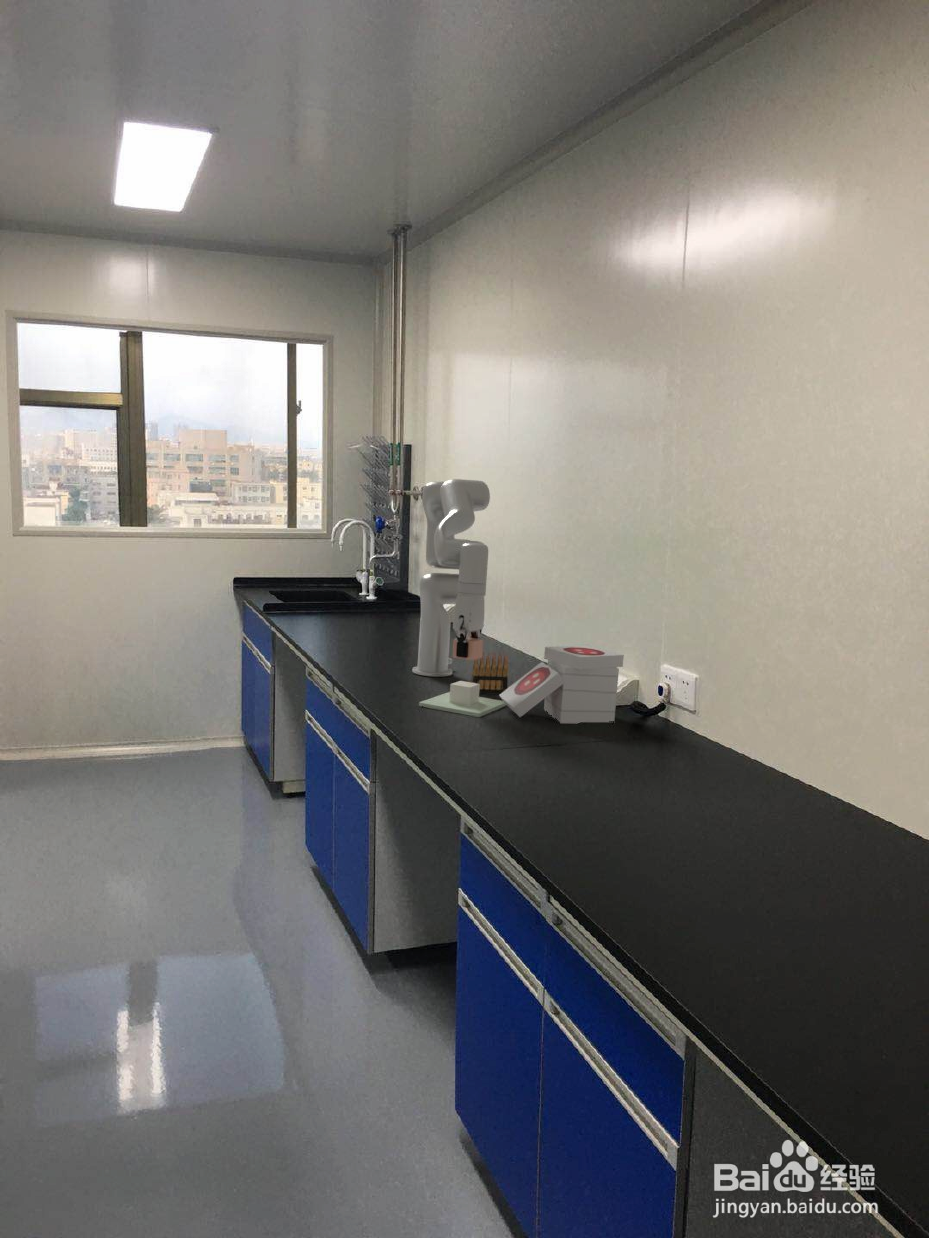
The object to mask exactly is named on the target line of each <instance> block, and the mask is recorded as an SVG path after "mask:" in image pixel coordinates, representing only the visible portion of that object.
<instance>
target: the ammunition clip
mask: <svg viewBox="0 0 929 1238" xmlns="http://www.w3.org/2000/svg"><path fill="white" fill-rule="evenodd" d="M497 658H498V659H497ZM479 659H480V660H479ZM479 659H475V660H473V665H472V666H473V667H472V675H471V680H470V682H471V683H477V684H480V689H479V694H488V693H502V692H504V691H505V690H506V689H507V688H508V684H509V683H508V676H509V675H508V674H509V665H508V664H509V657H508V653H507V652H506V653H505V654H504V657H503V655H502V653H501V652H500V653H499V655H498V657H497V654H496V652H493V655H492V659H491V654H490V652H488V653H487V655H486V660H485V653H484V652H483V653H482V658H479ZM485 661H486V662H485Z"/></svg>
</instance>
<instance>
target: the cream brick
mask: <svg viewBox="0 0 929 1238" xmlns="http://www.w3.org/2000/svg"><path fill="white" fill-rule="evenodd" d="M479 689H480V684H477V683H471V681H464V680H459V681H458V680H457V681H456V682H453V683H450V687H449V690H450V691H449V692H450V699H449V702H451V703H457V704H463V705H468V706H470V705H472V704H475V703H477V702H479V697H480V693H479Z"/></svg>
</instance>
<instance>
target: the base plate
mask: <svg viewBox="0 0 929 1238" xmlns="http://www.w3.org/2000/svg"><path fill="white" fill-rule="evenodd" d="M449 699H450V691H448V692H445V693H442V694H439V695H436V696H433V697H431V698H428V699H425V700H422V701H419V702H418V707H422V706H423V707H424V708H428V709H432V710H437V711H444V712H449V713H455V714H461V715H466V716H470V717H471V716H472V717H476V718H480V717H482V716H485V715H488V714H490V713H492V711H493V712H496V711H497V710H499V709H502V708H504V707H508V706H507V705H506V704H505V703H504V701H503V700H502V699H501V700H500V699H493V698H489V697H483V696H479V702H477V703H475V704H472V705H470V706H468V705H463V704H457V703H451V702H449ZM423 707H422V708H423Z"/></svg>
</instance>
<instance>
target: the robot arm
mask: <svg viewBox="0 0 929 1238" xmlns="http://www.w3.org/2000/svg"><path fill="white" fill-rule="evenodd" d="M421 495H422V498H421V499H422V501H421V502H422V507H423V511H424V514H425V518H426V526H427V527H426V543H425V545H426V546H425V560H426V564H427V566H428V567H430V568H432V569H442V570H458V573H448V572H445V573H444V572H430V573H426V574H424V575H423V576H422V577H420V580H419V585H418V586H419V598H420V600H419V601H420V619H419V620H420V621H419V635H418V636H419V637H418V651H417V652H418V653H417V654H418V655H417V666H413V667H412V673H413V674H415V675H418V676H425V677H432V678H433V677H435V678H436V677H438V678H439V677H449V676H452V675H453V670H452V668H450V667H449V665H450V664H453V659H452V658H451V657H449V653H450V641H451V640H450V638H451V637H450V636H451V622H452V629H453V632H454V634H455V637H456V638H457V639H456V638H455V639H456V641H457V650H456V656H457V657H464V658H467V657H468V644H469V643H467V640H468V637H470V638H477V639H482V637H481V634H482V632H483V628H484V625H485V624H484V623H485V596H486V594H487V593H486V592H487V579H488V566H489V565H488V562H489V547H488V545H487V544H485V543H484V542H482V541H478V540H471V539H464V538H455V535H458V534H460V533H461V534H462V533H463V532H466V531H467V530H469V529H471V527H473V525H474V523H475V520H476V517H475V512H481V511H483V510H486V509H487V508H488V507H489V505H490V502H491V501H490V500H491V493H490V489H489V486H488V485H487V483H486V482H484V481H482V480H476V479H475V480H474V479H461V478H460V479H459V478H457V479H456V478H454V479H449V480H445V481H440V480H439V481H431V482H428V483H426V484H425V485H424V487H423V488H422V493H421ZM445 605H455V607H454V611H453V621H451V616H450V614H449V612H448V611H447V609H446V608H445Z"/></svg>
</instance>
